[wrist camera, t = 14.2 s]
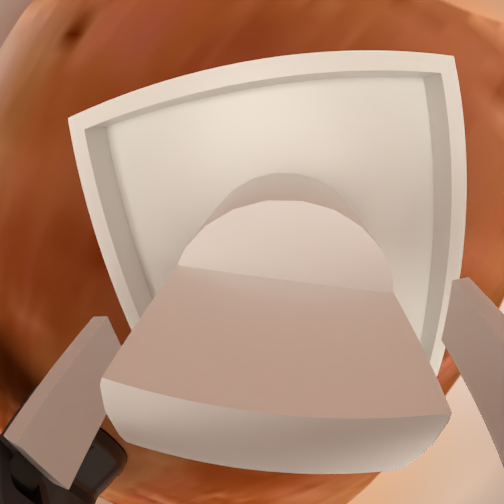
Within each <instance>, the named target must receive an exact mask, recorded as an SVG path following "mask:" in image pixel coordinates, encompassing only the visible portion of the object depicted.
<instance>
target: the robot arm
mask: <svg viewBox="0 0 504 504" xmlns="http://www.w3.org/2000/svg"><path fill="white" fill-rule="evenodd" d="M441 340H442V342H443V344H444V345H445V347H446V349H447V351H448V352H449V354H450V356H451V358H452V359H453V361H454V363H455V365H456V366H457V368H458V370H459V372H460V374H461V376H462V377H463V379H464V381H465V383H466V385H467V387H468V389H469V391H470V393H471V395H472V397H473V399H474V401H475V403H476V405H477V407H478V409H479V411H480V413H481V415H482V417H483V419H484V422H485V424H486V426H487V428H488V430H489V432H490V435H491V437H492V439H493V442H494V444H495V447H496V449H497V451H498V454H499V456H500V459H501V461H502V464H503V467H504V314H503V313H502V312H501V311H500V310H499V309H498V308H497V307H496V305H495V304H494V303H493V302H492V301H491V300H490V299H489V298H488V297H487V296H486V295H485V294H484V292H483V291H482V290H481V289H480V288H479V287H478V286H477V285H476V284H475V283H474V282H473V281H472V280H471V279H470V278H469V277H466V278H461V279H456V280H452V286H451V292H450V298H449V304H448V310H447V315H446V320H445V325H444V330H443V334H442V339H441ZM120 348H121V345H120V343H119V341H118V338H117V336H116V334H115V332H114V330H113V328H112V325H111V323H110V321H109V319H108V316H101V317H93V318H92V319H91V320H90V321H89V323H88V324H87V325H86V326H85V327H84V329H83V330H82V331H81V332H80V333H79V335H78V336H77V337H76V338H75V339H74V341H73V342H72V343H71V344H70V346H69V347H68V348H67V349H66V351H65V352H64V353H63V354H62V356H61V357H60V358H59V359H58V361H57V362H56V363H55V364H54V366H53V367H52V368H51V370H50V371H49V372H48V374H47V375H46V376H45V377H44V379H43V380H42V381H41V383H40V384H39V385H38V386H36V387H35V388H34V389H33V390H32V391H31V393H30V394H29V395H28V397H27V398H26V401H24V402H23V404H22V405H21V406H20V407H21V408H20V409H18V411H17V412H16V413H15V415H14V416H13V418H12V419H11V421H10V422H9V423H8V425H7V426H6V428H5V429H4V431H3V432H2V434H1V435H0V504H95V502H96V500H97V498H98V496H99V495H100V494H101V493H102V492H103V491H104V490H105V489H106V488H107V487H108V486H109V485H110V484H111V483H112V481H113V480H114V479H115V478H116V477H117V476H119V475H120V474H121V473H122V471H123V469H124V466H125V464H126V462H127V456H126V454H125V452H124V451H123V449H122V448H121V447H120V446H119V445H118V444H117V443H116V442H115V441H114V440H113V439H112V438H111V437H110V436H109V435H107V434H106V433H105V432H104V431H102V430H101V429H100V426H101V424H102V422H103V420H104V418H105V416H106V412H105V408H104V404H103V399H102V394H101V389H100V382H101V378H102V376H103V375H104V373H105V371H106V370H107V368H108V367H109V365H110V363H111V362H112V360H113V359H114V357H115V356H116V354H117V353H118V351H119V350H120Z"/></svg>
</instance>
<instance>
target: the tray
mask: <svg viewBox="0 0 504 504" xmlns="http://www.w3.org/2000/svg"><path fill="white" fill-rule="evenodd" d="M68 122H69V128H70V134H71V139H72V144H73V149H74V154H75V159H76V163H77V168H78V172H79V176H80V180H81V184H82V188H83V192H84V196H85V200H86V203H87V207H88V211H89V214H90V218H91V221H92V224H93V228H94V231H95V234H96V237H97V241H98V244H99V247H100V250H101V253H102V256H103V259H104V262H105V264H106V267H107V270H108V273H109V276H110V278H111V281H112V284H113V286H114V289H115V292H116V294H117V297H118V299H119V302H120V304H121V307H122V309H123V312H124V314H125V316H126V319H127V321H128V324H129V326H130V328H131V331H132V330H133V328H134V327H135V325H136V324H137V322H138V321H139V319H140V318H141V316H142V315H143V313H144V312H145V310H146V309H147V307H148V306H149V305H150V303H151V302H152V300H153V299H154V297H155V296H156V294H157V293H158V291H159V290H160V289H161V287H162V286H163V284H164V283H165V281H166V280H167V279H168V277H169V276H170V274H171V273H172V272H173V270H174V269H175V267H176V266H177V264H178V262H179V260H180V258H181V256H182V253H183V251H184V249H185V247H186V246H187V245H188V243H189V242H190V241H191V239H192V238H193V237H194V236H195V234H196V233H197V232H198V230H199V229H200V228H201V227H202V225H203V224H204V223H205V221H206V220H207V219H208V218H209V216H210V215H211V214H212V213H213V211H214V210H215V209H216V207H217V206H218V205H219V204H220V203H221V202H222V201H223V200H224V199H225V198H226V197H227V195H228V194H229V193H230V192H231V191H232V190H234V189H235V188H237V187H239V186H240V185H242V184H244V183H246V182H247V181H249V180H251V179H254V178H257V177H261V176H265V175H268V174H272V173H296V174H299V175H303V176H306V177H310V178H313V179H317V180H319V181H320V182H322V183H324V184H325V185H327V186H329V187H330V188H332V189H333V190H335V191H336V192H337V193H338V194H339V195H340V196H341V197H342V198H343V199H344V200H345V201H346V203H347V204H348V205H349V206H350V207H351V208H352V210H353V211H354V212H355V214H356V215H357V216H358V218H359V219H360V220H361V222H362V223H363V224H364V226H365V227H366V228H367V230H368V231H369V233H370V234H371V235H372V237H373V238H374V239H375V241H376V242H377V244H378V245H379V246H380V248H381V249H382V251H383V254H384V256H385V258H386V261H387V263H388V265H389V268H390V270H391V273H392V276H393V289H394V294H395V296H396V298H397V300H398V301H399V303H400V305H401V307H402V309H403V311H404V313H405V314H406V316H407V318H408V320H409V322H410V324H411V326H412V328H413V330H414V332H415V334H416V336H417V338H418V340H419V342H420V344H421V346H422V348H423V350H424V352H425V354H426V356H427V358H428V360H429V362H430V364H431V367H432V369H433V371H434V373H435V375H436V376H437V375H438V372H439V369H440V365H441V362H442V358H443V355H444V351H445V345H444V344H443V342H442V340H441V339H442V334H443V330H444V325H445V320H446V315H447V310H448V304H449V298H450V292H451V286H452V280H456V279H459V278H460V271H461V264H462V255H463V246H464V235H465V221H466V197H467V167H466V143H465V130H464V119H463V110H462V102H461V94H460V88H459V82H458V76H457V70H456V65H455V60H454V56H449V55H441V54H432V53H421V52H406V51H379V50H359V51H331V52H316V53H305V54H295V55H286V56H278V57H271V58H264V59H258V60H252V61H246V62H241V63H236V64H231V65H226V66H221V67H216V68H212V69H208V70H203V71H199V72H195V73H192V74H188V75H184V76H180V77H177V78H173V79H170V80H166V81H163V82H160V83H157V84H153V85H150V86H147V87H144V88H141V89H138V90H136V91H133V92H130V93H127V94H124V95H122V96H119V97H116V98H114V99H111V100H109V101H106V102H104V103H101V104H99V105H96V106H94V107H92V108H89V109H87V110H85V111H82V112H80V113H78V114H76V115H74V116H71V117H69V118H68Z"/></svg>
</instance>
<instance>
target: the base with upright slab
mask: <svg viewBox="0 0 504 504" xmlns="http://www.w3.org/2000/svg"><path fill="white" fill-rule="evenodd" d="M100 389H101V394H102V399H103V404H104V408H105V412H106V414H107V415H108V417H109V419H110V421H111V422H112V424H113V426H114V427H115V429H116V431H117V432H118V434H119V435H120V436H121V437H122V439H123V440H124V441H125V442H128V443H131V444H134V445H137V446H141V447H144V448H147V449H151V450H154V451H158V452H162V453H166V454H170V455H174V456H178V457H182V458H186V459H191V460H196V461H201V462H206V463H211V464H217V465H223V466H229V467H236V468H243V469H251V470H260V471H270V472H283V473H301V474H350V473H369V472H381V471H391V470H400V469H403V468H405V467H406V466H408V465H409V464H411V463H412V462H413V461H414V460H416V459H417V458H418V457H419V456H420V455H421V454H422V453H424V452H425V451H426V450H427V449H428V448H429V447H430V446H431V445H432V444H433V443H434V442H435V440H436V439H437V438H438V436H439V435H440V433H441V432H442V430H443V429H444V427H445V426H446V424H447V423H448V421H449V419H450V416H451V410H450V407H449V405H448V403H447V400H446V398H445V396H444V393H443V391H442V389H441V386H440V384H439V382H438V380H437V377H436V375H435V373H434V371H433V369H432V367H431V364H430V362H429V360H428V358H427V356H426V354H425V352H424V350H423V348H422V346H421V344H420V342H419V340H418V338H417V336H416V334H415V332H414V330H413V328H412V326H411V324H410V322H409V320H408V318H407V316H406V314H405V313H404V311H403V309H402V307H401V305H400V303H399V301H398V300H397V298H396V296H395V294H394V289H393V276H392V273H391V270H390V268H389V265H388V263H387V261H386V258H385V256H384V254H383V251H382V249H381V248H380V246H379V245H378V244H377V242H376V241H375V239H374V238H373V237H372V235H371V234H370V233H369V231H368V230H367V228H366V227H365V226H364V224H363V223H362V222H361V220H360V219H359V218H358V216H357V215H356V214H355V212H354V211H353V210H352V208H351V207H350V206H349V205H348V204H347V203H346V201H345V200H344V199H343V198H342V197H341V196H340V195H339V194H338V193H337V192H336V191H335V190H333V189H332V188H330V187H329V186H327V185H325V184H324V183H322V182H320V181H319V180H317V179H313V178H310V177H306V176H303V175H299V174H296V173H272V174H268V175H265V176H261V177H257V178H254V179H251V180H249V181H247V182H246V183H244V184H242V185H240V186H239V187H237V188H235V189H234V190H232V191H231V192H230V193H229V194H228V195H227V197H226V198H225V199H224V200H223V201H222V202H221V203H220V204H219V205H218V206H217V207H216V209H215V210H214V211H213V213H212V214H211V215H210V216H209V218H208V219H207V220H206V221H205V223H204V224H203V225H202V227H201V228H200V229H199V230H198V232H197V233H196V234H195V236H194V237H193V238H192V239H191V241H190V242H189V243H188V245H187V246H186V247H185V249H184V251H183V253H182V256H181V258H180V260H179V262H178V264H177V266H176V267H175V269H174V270H173V272H172V273H171V274H170V276H169V277H168V279H167V280H166V281H165V283H164V284H163V286H162V287H161V289H160V290H159V291H158V293H157V294H156V296H155V297H154V299H153V300H152V302H151V303H150V305H149V306H148V307H147V309H146V310H145V312H144V313H143V315H142V316H141V318H140V319H139V321H138V322H137V324H136V325H135V327H134V328H133V330H132V331H131V333H130V334H129V336H128V337H127V339H126V340H125V342H124V343H123V345H122V346H121V348H120V350H119V351H118V353H117V354H116V356H115V357H114V359H113V360H112V362H111V363H110V365H109V367H108V368H107V370H106V371H105V373H104V375H103V376H102V378H101V382H100Z"/></svg>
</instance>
